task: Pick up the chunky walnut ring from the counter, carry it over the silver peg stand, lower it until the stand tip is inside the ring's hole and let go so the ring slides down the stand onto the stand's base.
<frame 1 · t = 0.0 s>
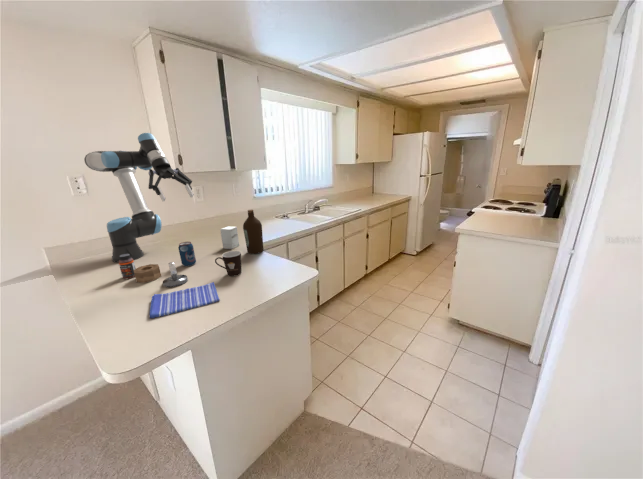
hand: (178, 197, 128), 36 cm above the worktop, tool tilted 35°, fingers open, 13 cm apart
walnut ring: (148, 277, 127), on the worktop
coffee mug: (232, 273, 128), on the worktop
dish towel: (186, 301, 105), on the worktop
silver peg stand: (175, 282, 121), on the worktop
supplement box: (231, 247, 168), on the worktop
olive oil: (255, 251, 157), on the worktop
supplement bottle: (130, 277, 129), on the worktop
soda can: (189, 264, 142), on the worktop
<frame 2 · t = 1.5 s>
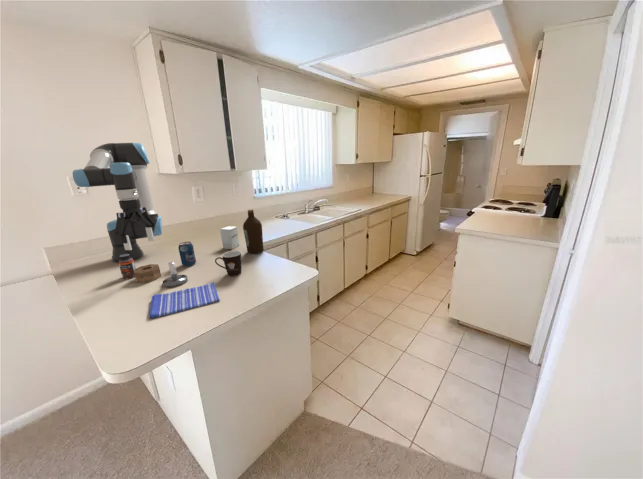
hand: (140, 245, 122), 17 cm above the worktop, tool pointing down, fingers open, 13 cm apart
nothing on the worktop moved.
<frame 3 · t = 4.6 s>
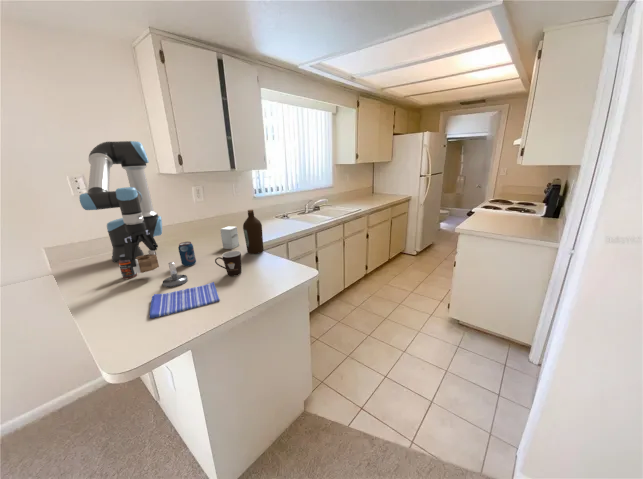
hand: (146, 267, 126), 5 cm above the worktop, tool pointing down, fingers closed on walnut ring, 10 cm apart
walnut ring: (146, 268, 126), point 5 cm above the worktop, touching gripper
everything else where it was.
when the fingers open (6 cm above the worktop, at t = 8.5 s): walnut ring drops 4 cm, resting on silver peg stand.
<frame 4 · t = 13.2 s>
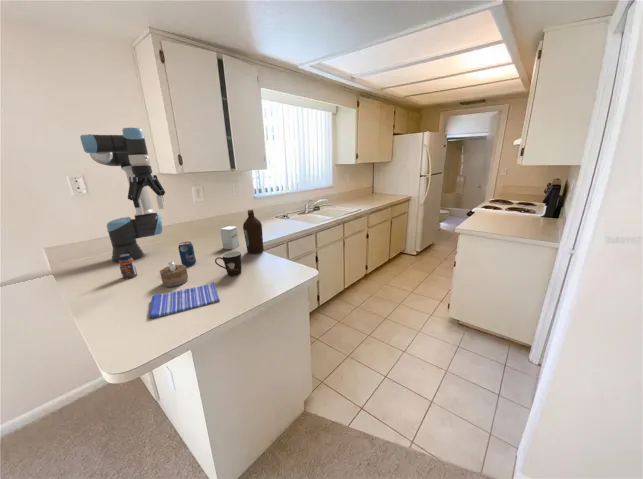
hand: (151, 211, 125), 31 cm above the worktop, tool pointing down, fingers open, 13 cm apart
walnut ring: (175, 279, 121), point 1 cm above the worktop, touching silver peg stand
everything else where it was.
at the end: walnut ring 0.2 cm off-centre on the silver peg stand, point 1.5 cm above the silver peg stand's base; the gripper is holding nothing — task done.
